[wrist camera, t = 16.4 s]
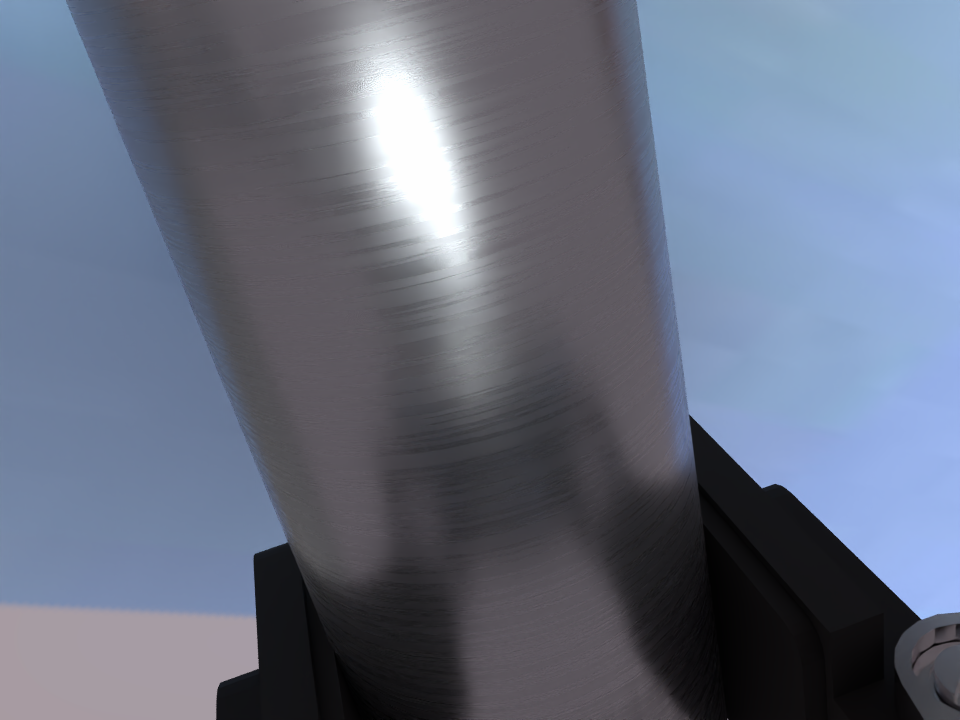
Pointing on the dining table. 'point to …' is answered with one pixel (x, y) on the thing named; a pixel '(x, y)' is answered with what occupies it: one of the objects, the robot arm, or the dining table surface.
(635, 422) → the axle
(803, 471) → the dining table surface
